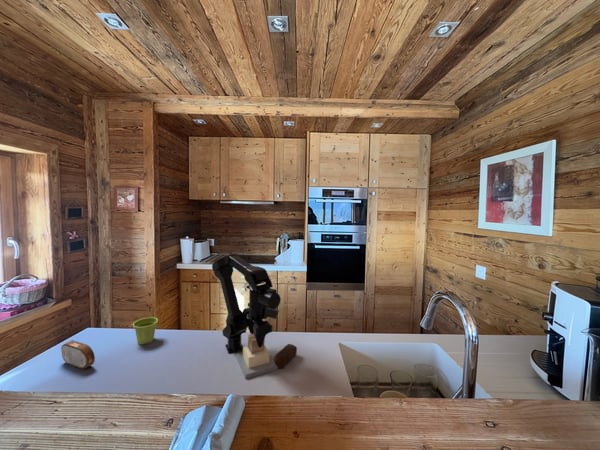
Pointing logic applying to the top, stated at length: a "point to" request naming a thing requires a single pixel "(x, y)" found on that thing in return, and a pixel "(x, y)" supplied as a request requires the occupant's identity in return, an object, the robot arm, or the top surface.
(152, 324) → the plant pot
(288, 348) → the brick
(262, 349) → the tan cube
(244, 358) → the foundation
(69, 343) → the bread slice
